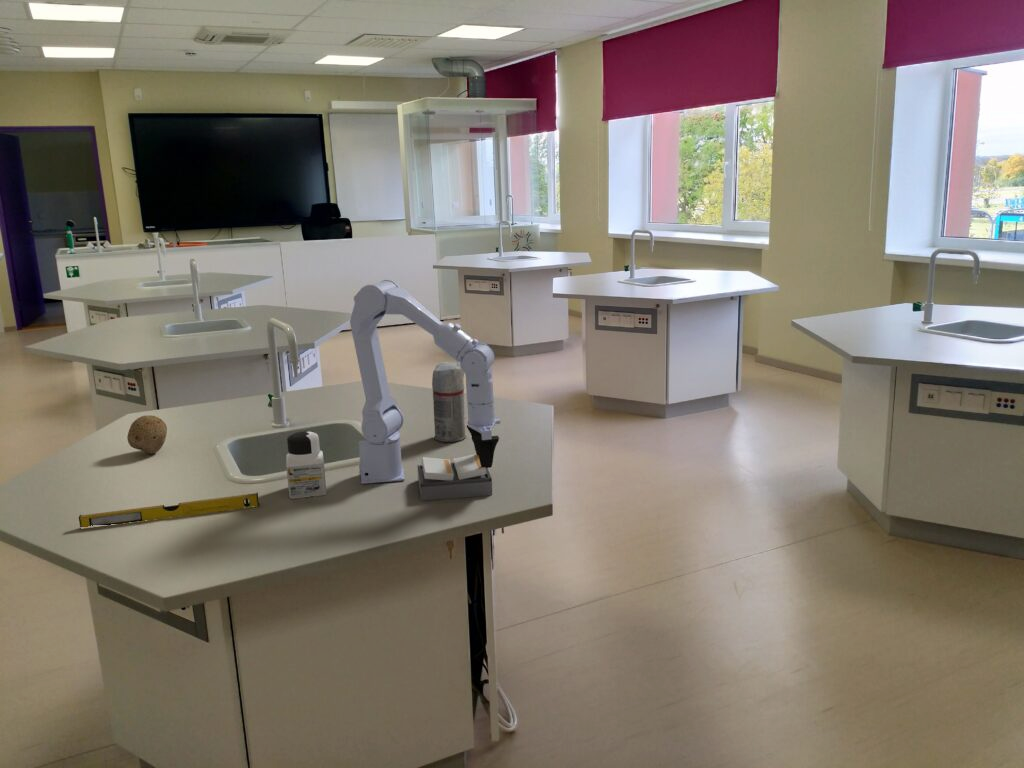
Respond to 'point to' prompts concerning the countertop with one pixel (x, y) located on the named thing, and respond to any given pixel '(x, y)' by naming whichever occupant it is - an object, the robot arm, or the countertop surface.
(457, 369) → the spray can
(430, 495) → the grey divided tray
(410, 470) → the countertop surface
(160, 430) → the brown potato
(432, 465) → the panel
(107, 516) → the spirit level
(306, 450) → the container
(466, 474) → the rocker right
